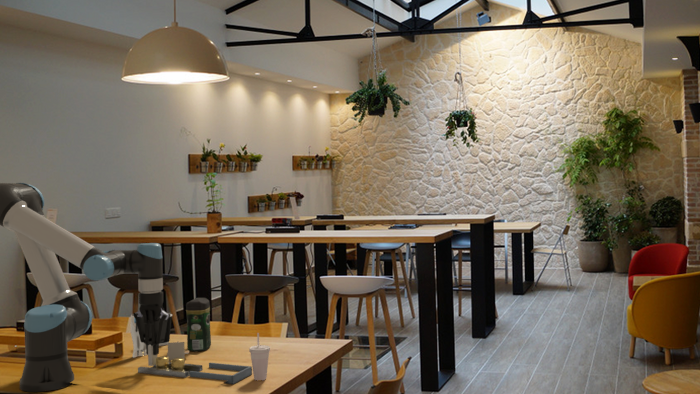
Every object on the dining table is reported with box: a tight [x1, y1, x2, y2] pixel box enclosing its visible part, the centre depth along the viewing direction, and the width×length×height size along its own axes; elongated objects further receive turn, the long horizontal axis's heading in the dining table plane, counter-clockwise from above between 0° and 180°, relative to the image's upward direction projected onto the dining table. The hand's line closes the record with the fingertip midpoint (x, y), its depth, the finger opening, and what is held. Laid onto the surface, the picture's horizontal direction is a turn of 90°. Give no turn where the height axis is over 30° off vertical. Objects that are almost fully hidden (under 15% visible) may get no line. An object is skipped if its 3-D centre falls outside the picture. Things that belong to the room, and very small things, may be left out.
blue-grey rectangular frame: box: [189, 362, 253, 385], centre depth 207 cm, size 11×16×2 cm
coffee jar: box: [185, 297, 212, 352], centre depth 245 cm, size 10×8×19 cm
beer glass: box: [129, 313, 148, 359], centre depth 235 cm, size 7×7×15 cm
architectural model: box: [166, 341, 190, 362], centre depth 227 cm, size 3×7×7 cm, turn 99°
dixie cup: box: [159, 313, 173, 347], centre depth 253 cm, size 8×8×11 cm
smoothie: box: [248, 332, 271, 381], centre depth 204 cm, size 6×6×14 cm
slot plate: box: [137, 361, 203, 379], centre depth 211 cm, size 9×18×2 cm, turn 68°
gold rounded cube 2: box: [170, 358, 186, 371], centre depth 210 cm, size 4×4×4 cm
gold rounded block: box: [156, 356, 170, 369], centre depth 212 cm, size 4×4×4 cm
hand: (153, 364), depth 214 cm, fingers closed
